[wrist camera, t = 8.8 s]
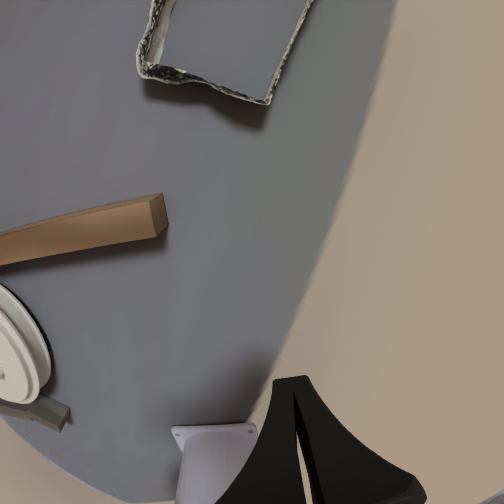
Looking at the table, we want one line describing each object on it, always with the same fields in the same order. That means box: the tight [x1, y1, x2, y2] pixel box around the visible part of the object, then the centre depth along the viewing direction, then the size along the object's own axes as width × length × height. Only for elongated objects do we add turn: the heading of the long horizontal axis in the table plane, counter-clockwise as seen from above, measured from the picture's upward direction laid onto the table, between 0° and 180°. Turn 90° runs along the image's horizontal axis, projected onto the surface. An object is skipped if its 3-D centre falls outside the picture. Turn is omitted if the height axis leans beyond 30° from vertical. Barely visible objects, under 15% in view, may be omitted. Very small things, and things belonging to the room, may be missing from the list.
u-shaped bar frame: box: [0, 193, 169, 433], centre depth 21 cm, size 20×28×3 cm
